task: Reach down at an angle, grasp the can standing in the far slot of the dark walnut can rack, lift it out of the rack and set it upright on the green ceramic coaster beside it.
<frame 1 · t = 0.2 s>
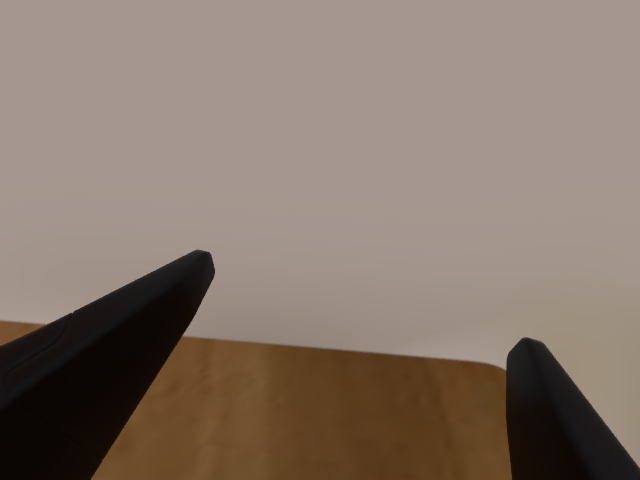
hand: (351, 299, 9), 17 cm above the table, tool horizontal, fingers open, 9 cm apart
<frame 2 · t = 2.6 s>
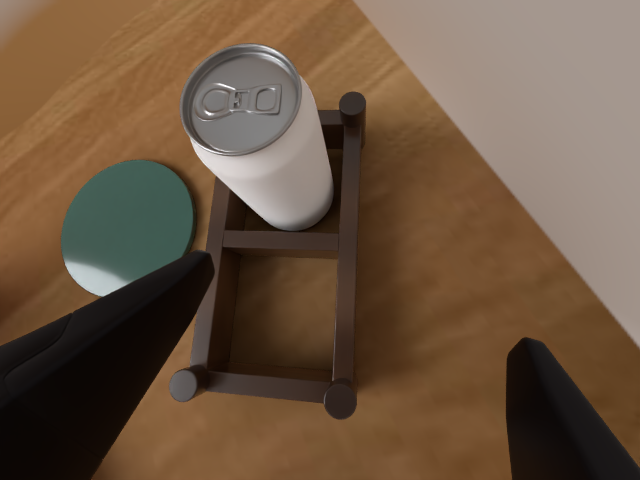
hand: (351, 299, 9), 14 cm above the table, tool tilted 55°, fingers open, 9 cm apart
can: (295, 195, 25), resting in rack
rack: (290, 249, 24), on the table
coaster: (130, 227, 27), on the table
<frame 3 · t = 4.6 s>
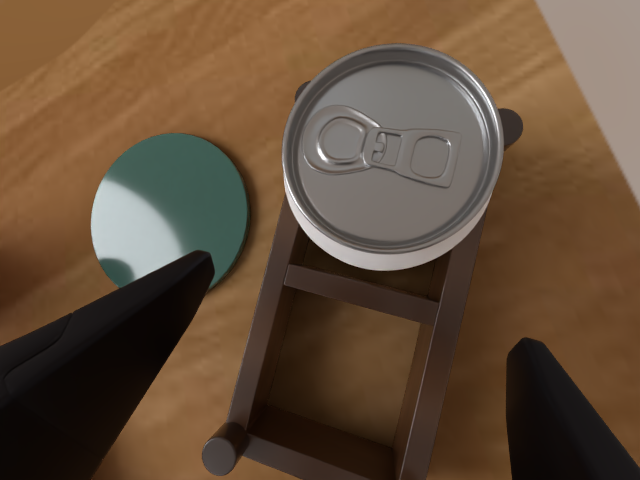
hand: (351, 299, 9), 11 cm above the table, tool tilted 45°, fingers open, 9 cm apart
can: (377, 219, 20), resting in rack
rack: (360, 289, 20), on the table
coaster: (170, 217, 22), on the table
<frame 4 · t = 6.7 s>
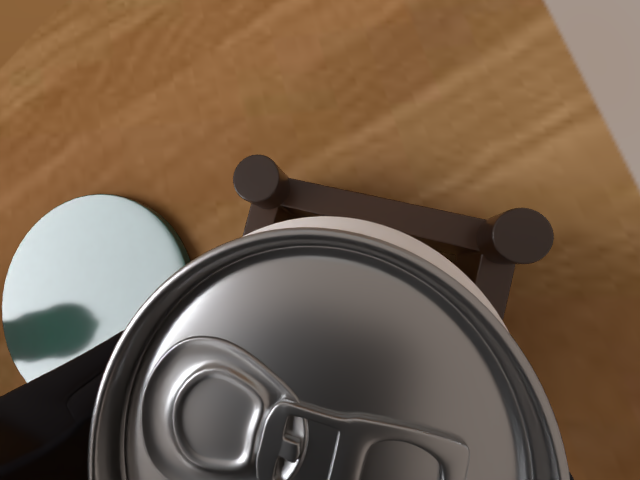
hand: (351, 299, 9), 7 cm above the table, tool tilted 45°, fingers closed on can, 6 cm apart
can: (354, 313, 16), resting in rack, touching gripper
rack: (331, 406, 15), on the table
coaster: (99, 299, 18), on the table
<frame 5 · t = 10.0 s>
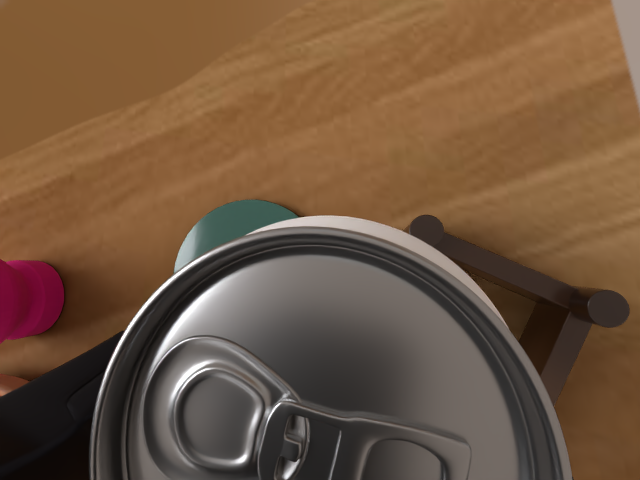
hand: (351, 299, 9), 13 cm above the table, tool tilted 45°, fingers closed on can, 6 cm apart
can: (354, 313, 16), point 6 cm above the table, touching gripper
rack: (421, 391, 21), on the table
pepper mill: (36, 297, 27), on the table
coaster: (250, 279, 23), on the table
when the fingers open (7 cm above the table, at t = 13.6 s): can stays where it is, resting on coaster.
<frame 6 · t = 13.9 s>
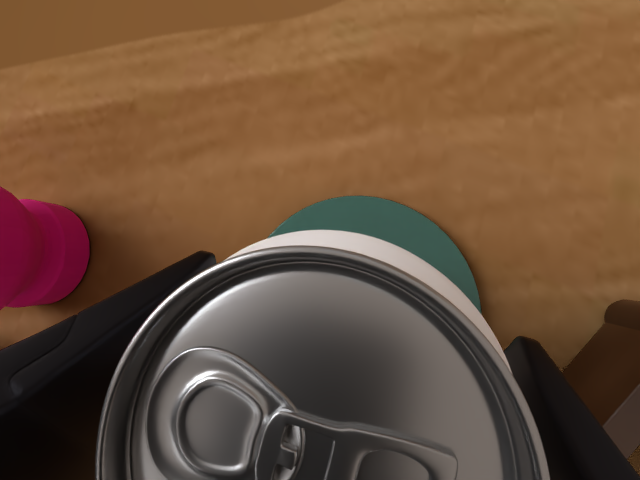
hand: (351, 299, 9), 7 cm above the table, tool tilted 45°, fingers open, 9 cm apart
can: (353, 316, 16), resting on coaster
pepper mill: (51, 253, 20), on the table
coaster: (354, 311, 16), on the table
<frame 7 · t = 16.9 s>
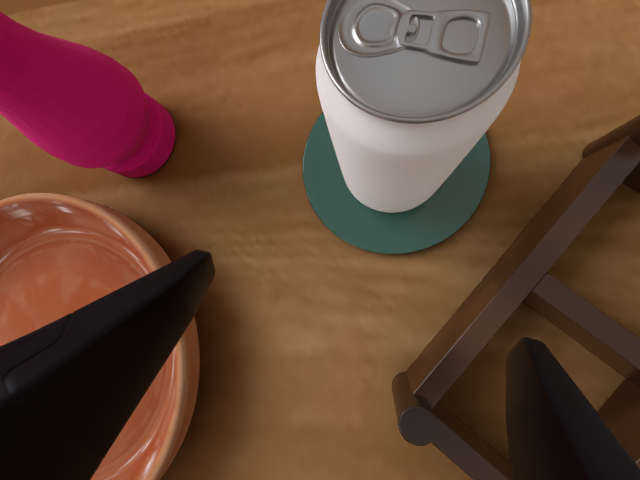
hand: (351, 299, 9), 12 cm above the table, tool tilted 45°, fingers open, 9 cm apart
can: (391, 166, 20), resting on coaster
rack: (568, 322, 18), on the table
saucer: (76, 351, 24), on the table
pepper mill: (142, 140, 24), on the table
coaster: (391, 165, 21), on the table
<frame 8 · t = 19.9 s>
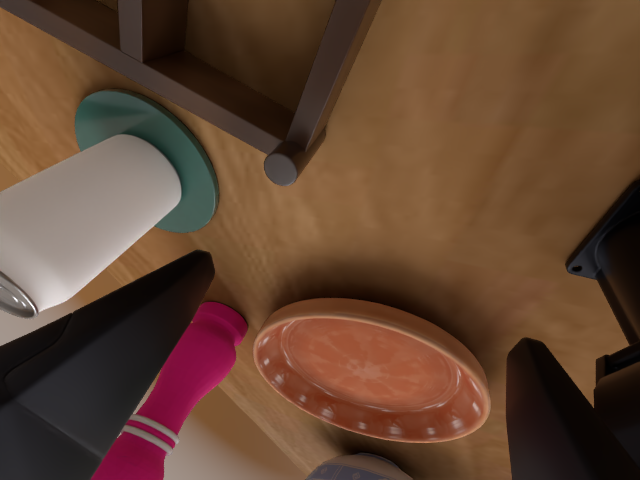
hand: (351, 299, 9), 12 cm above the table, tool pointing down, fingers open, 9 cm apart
ramen bowl: (377, 460, 53), on the table
can: (149, 171, 24), resting on coaster
saucer: (366, 355, 33), on the table
pepper mill: (225, 317, 37), on the table
coaster: (151, 169, 25), on the table
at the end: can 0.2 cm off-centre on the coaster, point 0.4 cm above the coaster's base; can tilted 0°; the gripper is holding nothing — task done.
